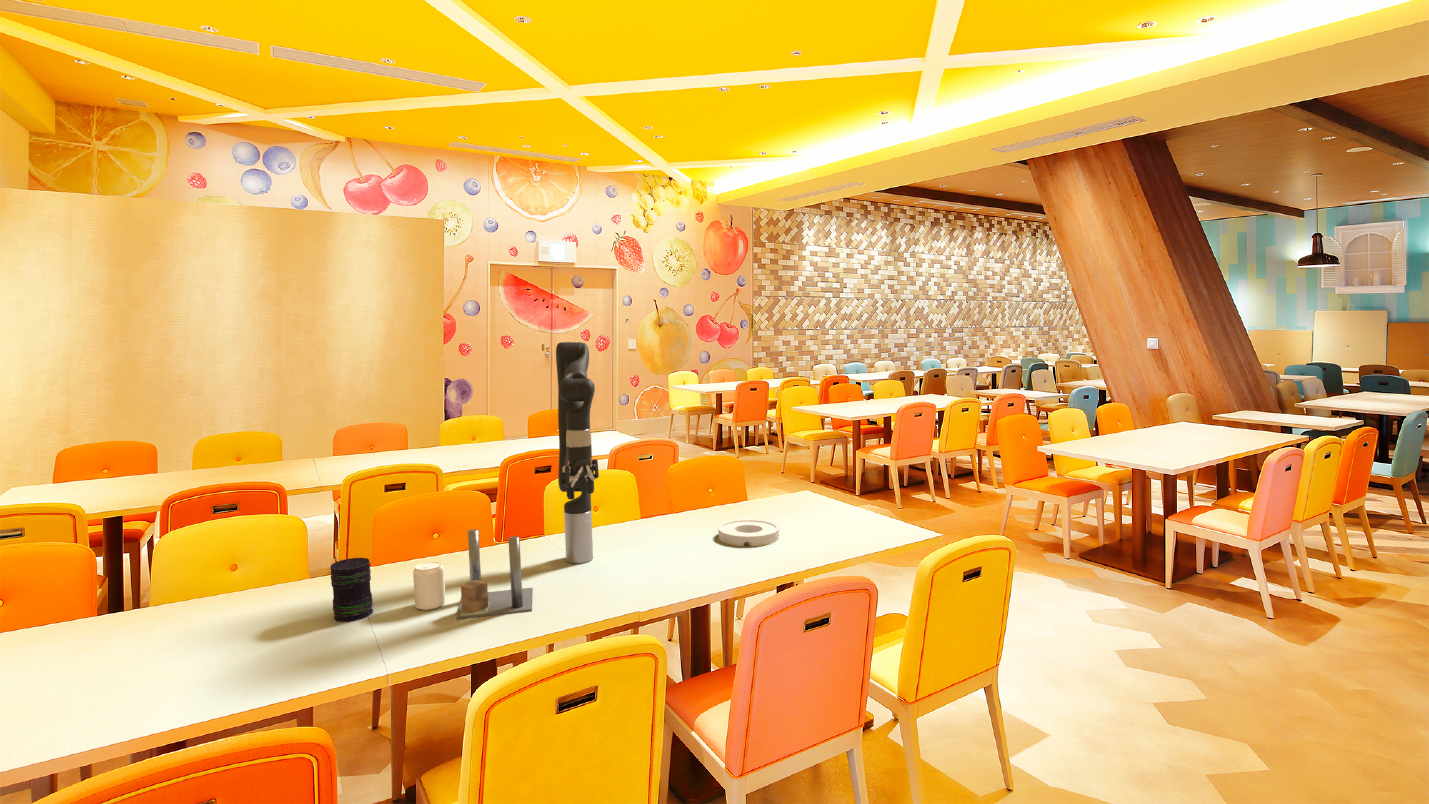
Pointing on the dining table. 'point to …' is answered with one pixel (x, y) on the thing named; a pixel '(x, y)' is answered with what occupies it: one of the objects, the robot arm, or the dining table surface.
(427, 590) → the beverage can
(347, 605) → the black cylinder
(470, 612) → the pad
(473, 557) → the post
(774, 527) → the ashtray
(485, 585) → the walnut block
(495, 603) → the mat
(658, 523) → the dining table surface
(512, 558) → the post
